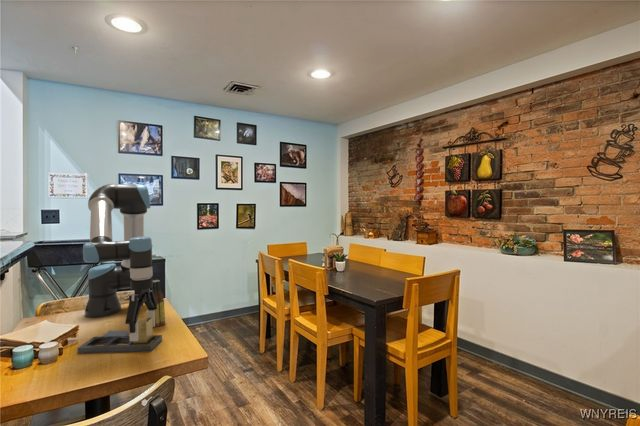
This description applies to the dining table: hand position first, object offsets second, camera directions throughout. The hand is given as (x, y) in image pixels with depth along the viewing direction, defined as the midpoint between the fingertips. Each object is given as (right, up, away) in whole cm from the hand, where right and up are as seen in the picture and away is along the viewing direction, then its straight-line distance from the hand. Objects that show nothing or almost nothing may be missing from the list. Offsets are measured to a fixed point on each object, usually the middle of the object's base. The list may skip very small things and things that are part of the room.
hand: (142, 333), depth 128 cm
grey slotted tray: (-8, -5, 0) cm, 9 cm away
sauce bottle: (-5, -4, +22) cm, 23 cm away
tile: (-17, -5, +9) cm, 19 cm away
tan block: (0, -5, 0) cm, 5 cm away
